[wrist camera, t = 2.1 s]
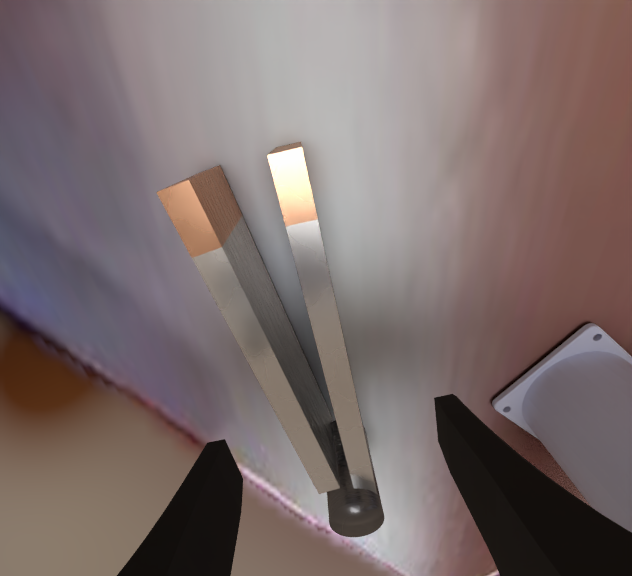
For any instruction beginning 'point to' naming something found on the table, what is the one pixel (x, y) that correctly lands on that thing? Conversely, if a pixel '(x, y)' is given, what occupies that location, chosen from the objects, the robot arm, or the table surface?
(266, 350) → the tongs moving arm
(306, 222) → the tongs fixed arm
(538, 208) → the table surface
